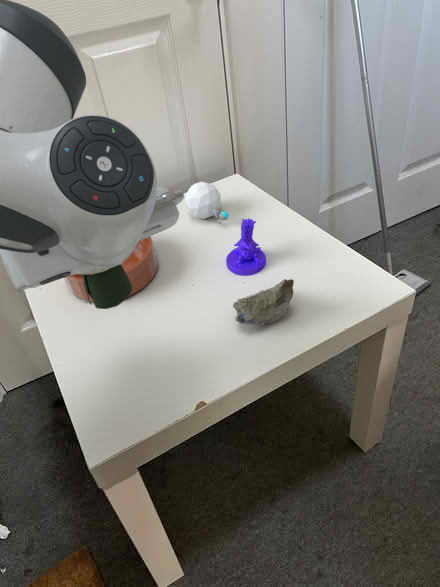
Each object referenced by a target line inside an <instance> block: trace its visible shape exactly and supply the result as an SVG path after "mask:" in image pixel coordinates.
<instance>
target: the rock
mask: <svg viewBox="0 0 440 587" xmlns="http://www.w3.org/2000/svg"><path fill="white" fill-rule="evenodd" d="M294 282H295V280H294V279H293V278H289V279H287V278H284V279H282V280H281V281H280V282H278V283H276V284H275V285H274V286H272V287H270V288H266V289H263V290H262V289H261V290H260V291H258V292H256V293H254V294H251V295H247V296H246V297H241V298H238V299H236V301H234V302H233V303H232V306H233V307H232V308H233V309H234V310H235V312H236V316H235V322H237V323H239V324H244V325H254V326H257V327H259V328H260V327H262V326H264V325H265V324H272V323H274V322H276V321H279V320H281V319H282V318H283V317H284V316H285V314H286V311H287V309H288V308H289V306H290V303H291V300H292V298H293V296H294V288H293V287H294Z"/></svg>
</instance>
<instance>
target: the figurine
mask: <svg viewBox="0 0 440 587" xmlns="http://www.w3.org/2000/svg"><path fill="white" fill-rule="evenodd" d="M256 223H257V222H256V220H254V219H252V218H249V217H248V218H245V219H244V218H241V223H240V239H239V240H238V241H237V242H236V243H234V244H233V246H234V247H236V248H233V249H231V251H230V252H229V253H228V254H227V255H226V257H225V258H226V259H225V263H226V267H227V269H228V271H229V272H230V273H232V274H234V275H238V276H243V277H244V276H251V275H252V276H253V275H255V274H258V273H260V272H261V271H262V270H263V269H264V268H265V266H266V265H267V258H266V254H265V252H264V251H263V250H262V249H261V247H260V244H259V243H258V242H256V241H255V239H253V235H254V229H255V224H256Z"/></svg>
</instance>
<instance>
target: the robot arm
mask: <svg viewBox="0 0 440 587" xmlns="http://www.w3.org/2000/svg"><path fill="white" fill-rule="evenodd" d="M86 87H87V77H86V72H85V70H84V67H83V64H82V61H81V60H80V57H79V56H78V53H77V51H76V49H75V48H74V46H73V45H72V42H71V40H69V38H68V36H67V35H66V33H65V32H64V31H63V30H62V29H61V27H59V25H58V24H56V23H55V22H54V21H53V20H52V19H51V18H49V17H48V16H47V15H45V14H43V13H42V12H40V11H38V10H36V9H34V8H31V7H29V6H26V5H24V4H22V3H18V2H16V1H12V0H0V260H1V263H2V265H3V267H4V269H5V271H6V273H7V276H8V277H9V279H10V281H11V283H12V285H13V287H14V289H15V290H16V291H18V292H22V291H26V290H28V289H35V288H37V287H38V288H39V287H40V286H45V285H47V284H49V283H52V282H55V281H58V280H61V279H64V278H65V277H68V276H70V275H74V274H80V273H87V272H92V271H94V270H104V269H109V268H112V267H115V266H117V265H119V264H121V263H122V262H124V261H125V260H126V259H127V258H128V257H129V256H130V255H131V254H132V252H133V251H134V249H135V247H136V245H137V243H138V241H140V240H143V239H145V238H147V237H150V236H151V237H152V236H154V235H157V234H159V233H162V232H164V231H166V230H168V229H170V228H173V226H175V225H176V224H177V223H178V220H179V217H180V212H179V209H178V205H179V204H180V203H181V202H182V201H183V200H184V199H185V192H183V190H181V189H179V190H176V191H175V192H174V191H173V190H169V189H168V188H167V187H163V186H162V187H158V180H157V171H156V167H155V163H154V160H153V157H152V155H151V154H150V152H149V149H148V148H147V146H146V145H145V143H144V142H143V141H142V139H141V138H140V136H138V135H137V133H136V132H134V131H133V129H131V128H130V127H129V126H128V125H126V124H125V123H123V122H122V121H119V120H117V119H116V118H112V117H109V116H107V115H106V116H105V115H101V114H86V115H85V114H84V115H81V116H76V117H75V114H76V112H77V109H78V107H79V104H80V102H81V100H82V97H83V94H84V92H85V90H86Z"/></svg>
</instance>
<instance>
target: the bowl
mask: <svg viewBox="0 0 440 587" xmlns="http://www.w3.org/2000/svg"><path fill="white" fill-rule="evenodd" d="M121 265H122V267H123V269H124V271H125V272H126V274H127V276H128V278H129V280H130V282H131V285H132V290H131V293H130V295H129V296H128V297H130V296H132V295H134V294H135V293H138V292H139V291H140V290H142V289H144V288H145V287H146V285H148V284H149V283H150V282H151V281H152V280H153V278H154V276H155V275H156V273H157V271H158V257H157V252H156V249H155V245H154V243H153V238H152V236H150V237H147V238H145V239H143V240H140V241H138V243H137V245H136V247H135V249H134V251H133V252H132V254H131V255H130V256H129V257H128V258H127V259H126V260H125V261H124V262H123V264H121ZM63 279H64V281H65V283H66V285H67V288H68V289H69V291H70V292H71V293H72V294H73V295H74V296H75V297H76V298H79V299H81V300H83V301H86V302H89V301H88V298H87V294H86V291H85V288H84V283H83V279H82V275H81V274H74V275H70V276H68V277H65V278H63ZM89 299H90V302H91V303H94V301H93V299H92V298H91V297H90V295H89Z"/></svg>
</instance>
